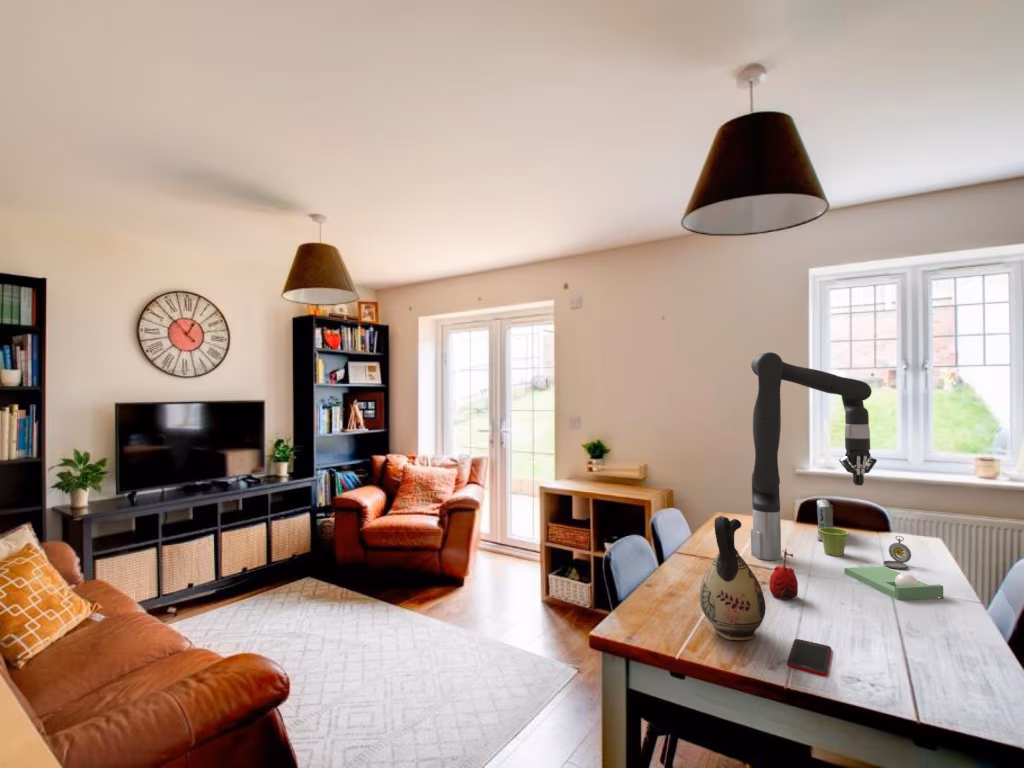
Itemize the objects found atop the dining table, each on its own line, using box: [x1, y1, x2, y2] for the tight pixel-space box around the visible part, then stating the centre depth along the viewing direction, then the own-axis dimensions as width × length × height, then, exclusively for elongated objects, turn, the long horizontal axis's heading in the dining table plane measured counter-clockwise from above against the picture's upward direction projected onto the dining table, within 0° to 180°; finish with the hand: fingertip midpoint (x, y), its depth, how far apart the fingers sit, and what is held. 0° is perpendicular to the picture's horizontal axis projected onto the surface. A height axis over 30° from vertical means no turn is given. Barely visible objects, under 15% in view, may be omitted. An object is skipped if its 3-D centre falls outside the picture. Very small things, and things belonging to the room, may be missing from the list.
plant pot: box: [819, 527, 849, 557], centre depth 194 cm, size 9×9×9 cm
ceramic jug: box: [699, 515, 767, 649], centre depth 132 cm, size 17×15×30 cm
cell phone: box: [786, 638, 832, 677], centre depth 119 cm, size 8×15×1 cm, turn 145°
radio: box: [816, 498, 834, 542], centre depth 218 cm, size 23×9×15 cm, turn 144°
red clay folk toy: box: [768, 548, 799, 600], centre depth 155 cm, size 8×7×15 cm
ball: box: [895, 572, 918, 586], centre depth 156 cm, size 6×6×6 cm
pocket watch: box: [882, 535, 912, 570], centre depth 179 cm, size 8×8×10 cm
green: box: [843, 565, 944, 601], centre depth 162 cm, size 14×22×4 cm, turn 4°
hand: (858, 485), depth 186 cm, fingers closed
